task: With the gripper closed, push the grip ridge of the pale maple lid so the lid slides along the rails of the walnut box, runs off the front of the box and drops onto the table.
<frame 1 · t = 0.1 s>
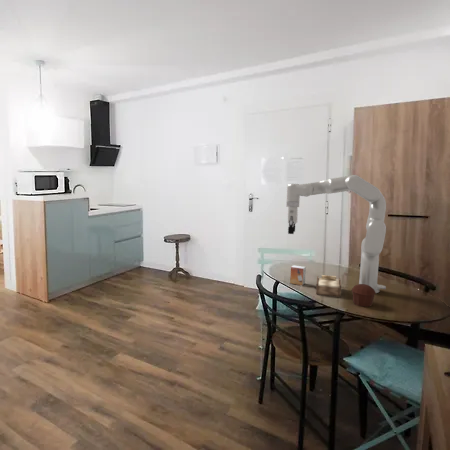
hand: (291, 232, 210), 31 cm above the table, tool pointing down, fingers open, 9 cm apart
small box: (297, 283, 213), on the table
walnut box: (328, 291, 198), on the table
lid: (328, 283, 197), point 5 cm above the table, touching walnut box
muffin: (362, 304, 179), on the table
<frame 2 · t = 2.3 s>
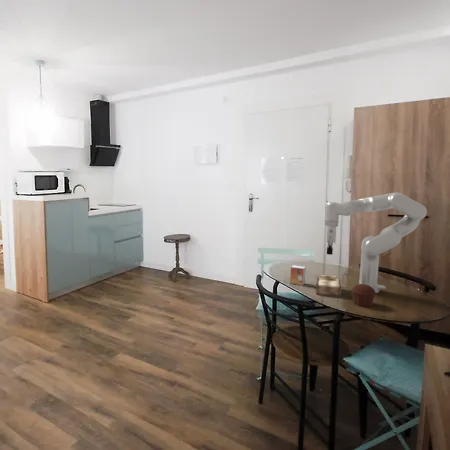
hand: (329, 254, 205), 20 cm above the table, tool pointing down, fingers closed
nothing on the table moved.
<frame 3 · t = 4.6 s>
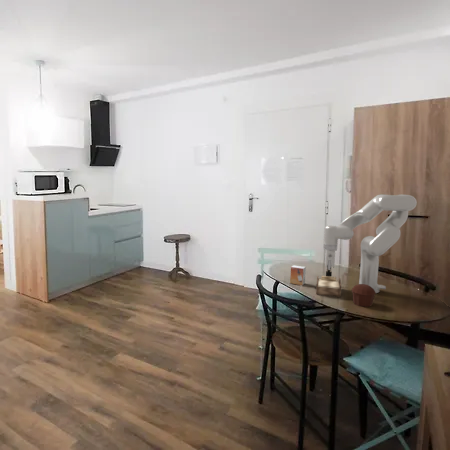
hand: (328, 278, 202), 6 cm above the table, tool pointing down, fingers closed
lid: (328, 284, 195), point 5 cm above the table, touching gripper, walnut box
everything else where it was.
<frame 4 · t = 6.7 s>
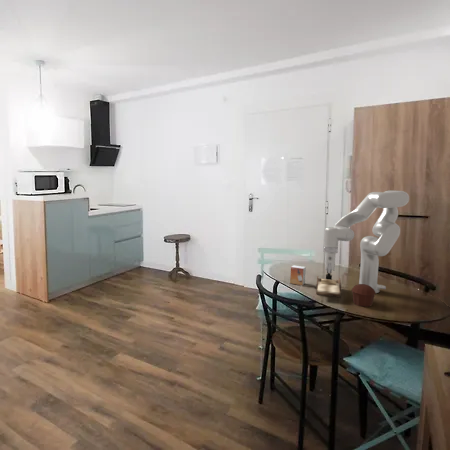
hand: (328, 281, 195), 6 cm above the table, tool pointing down, fingers closed
lid: (328, 288, 188), point 5 cm above the table, touching walnut box
everything else where it was.
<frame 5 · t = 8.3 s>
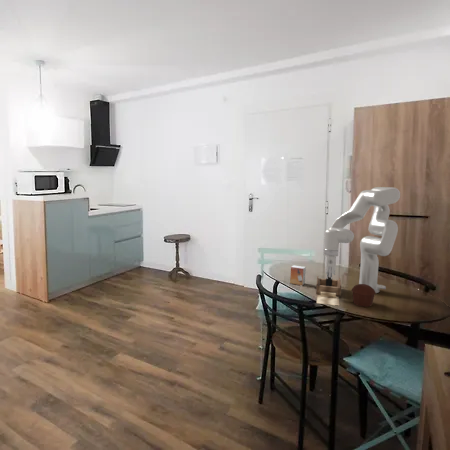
hand: (328, 285, 187), 6 cm above the table, tool pointing down, fingers closed
lid: (327, 301, 184), on the table
everything else where it was.
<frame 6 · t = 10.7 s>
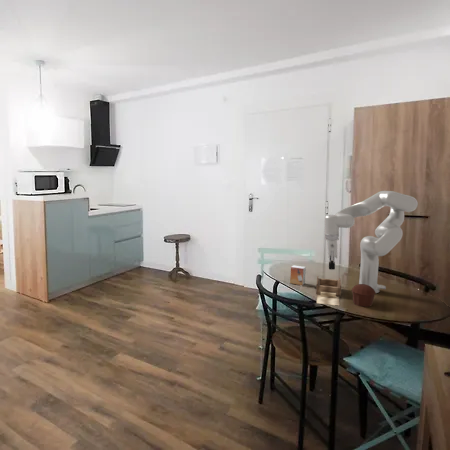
hand: (331, 269, 196), 13 cm above the table, tool pointing down, fingers closed
nothing on the table moved.
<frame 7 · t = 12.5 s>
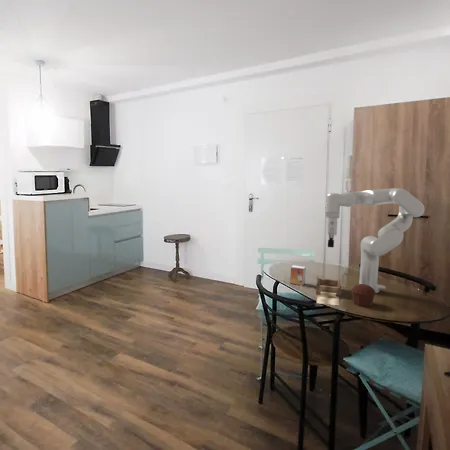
hand: (330, 246, 199), 25 cm above the table, tool pointing down, fingers closed
nothing on the table moved.
at the end: lid inside the target area (3.9 cm from its centre), on the table; lid tilted 0° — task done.
